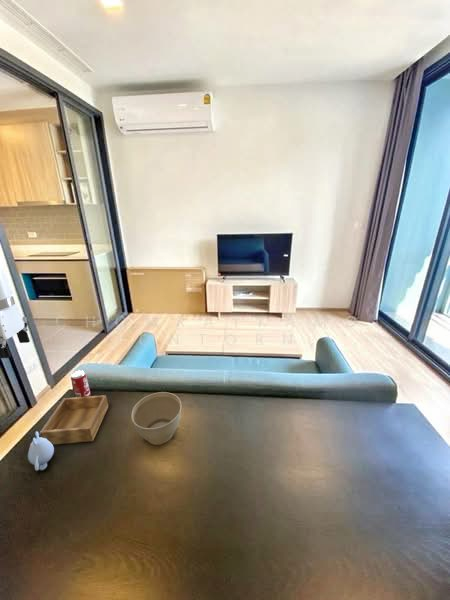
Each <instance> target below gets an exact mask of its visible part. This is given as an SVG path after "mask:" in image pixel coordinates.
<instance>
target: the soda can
mask: <svg viewBox="0 0 450 600" xmlns="http://www.w3.org/2000/svg"><path fill="white" fill-rule="evenodd" d="M70 376H71V377H70V380H71V384H72V387H73V391H74V394H75V397H88V396H92V393H91V389H90V385H89V381H88V377H87V374H86V372H85V371H84V370H83V369H79V370H76V371H74V372H72V373H71V375H70Z"/></svg>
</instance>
